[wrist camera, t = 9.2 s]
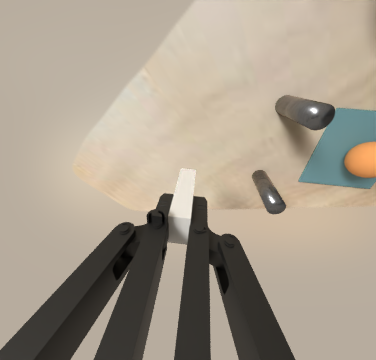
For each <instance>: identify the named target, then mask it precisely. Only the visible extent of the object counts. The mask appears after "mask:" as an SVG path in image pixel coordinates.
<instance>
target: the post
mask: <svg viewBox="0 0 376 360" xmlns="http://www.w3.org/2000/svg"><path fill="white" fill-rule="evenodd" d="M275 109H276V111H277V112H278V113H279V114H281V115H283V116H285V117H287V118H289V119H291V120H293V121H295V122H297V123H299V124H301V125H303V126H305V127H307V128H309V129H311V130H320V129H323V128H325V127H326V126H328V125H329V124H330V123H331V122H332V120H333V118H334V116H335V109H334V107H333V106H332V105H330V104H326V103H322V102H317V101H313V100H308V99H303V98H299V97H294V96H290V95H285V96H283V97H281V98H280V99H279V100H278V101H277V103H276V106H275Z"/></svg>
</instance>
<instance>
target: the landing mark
mask: <svg viewBox="0 0 376 360" xmlns="http://www.w3.org/2000/svg"><path fill="white" fill-rule="evenodd" d="M366 142H376V111H370V110H357V109H345V108H336V110H335V116H334V118H333V120H332V122H331V123H330V124H329V125H328V126H327V127H326V129H325V131H324V133H323V135H322V137H321V139H320V141H319V143H318V144H317V146H316V148H315V150H314V152H313V154H312V156H311V158H310V160H309V162H308V163H307V165H306V167H305V169H304V171H303V173H302V175H301V177H300V179H299V182H308V183H318V184H328V185H337V186H347V187H357V188H367V189H370V188H371V187H372V185H373V184H374V183H375V182H376V177H374V178H364V177H359V176H356V175H354V174H352V173H350V172H349V171H348V170H347V168H346V167H345V164H344V159H345V156H346V154H347V153H348V152H349V150H351V149H352V148H353V147H355V146H357V145H359V144H362V143H366Z"/></svg>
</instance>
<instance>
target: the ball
mask: <svg viewBox="0 0 376 360" xmlns="http://www.w3.org/2000/svg"><path fill="white" fill-rule="evenodd" d="M344 164H345V167H346V168H347V170H348V171H349V172H350V173H352V174H354V175H356V176H359V177H364V178H374V177H376V142H366V143H362V144H359V145H357V146H355V147H353V148H352V149H351V150H349V152H348V153H347V154H346V156H345V159H344Z"/></svg>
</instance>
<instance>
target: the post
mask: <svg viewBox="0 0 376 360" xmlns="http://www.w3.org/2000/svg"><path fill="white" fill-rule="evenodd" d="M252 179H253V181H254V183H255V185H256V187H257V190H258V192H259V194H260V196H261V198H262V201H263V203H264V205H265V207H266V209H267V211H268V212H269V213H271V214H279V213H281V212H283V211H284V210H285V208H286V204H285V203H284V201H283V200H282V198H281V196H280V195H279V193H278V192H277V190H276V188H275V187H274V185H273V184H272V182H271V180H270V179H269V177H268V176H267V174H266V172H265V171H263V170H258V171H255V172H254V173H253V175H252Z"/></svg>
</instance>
